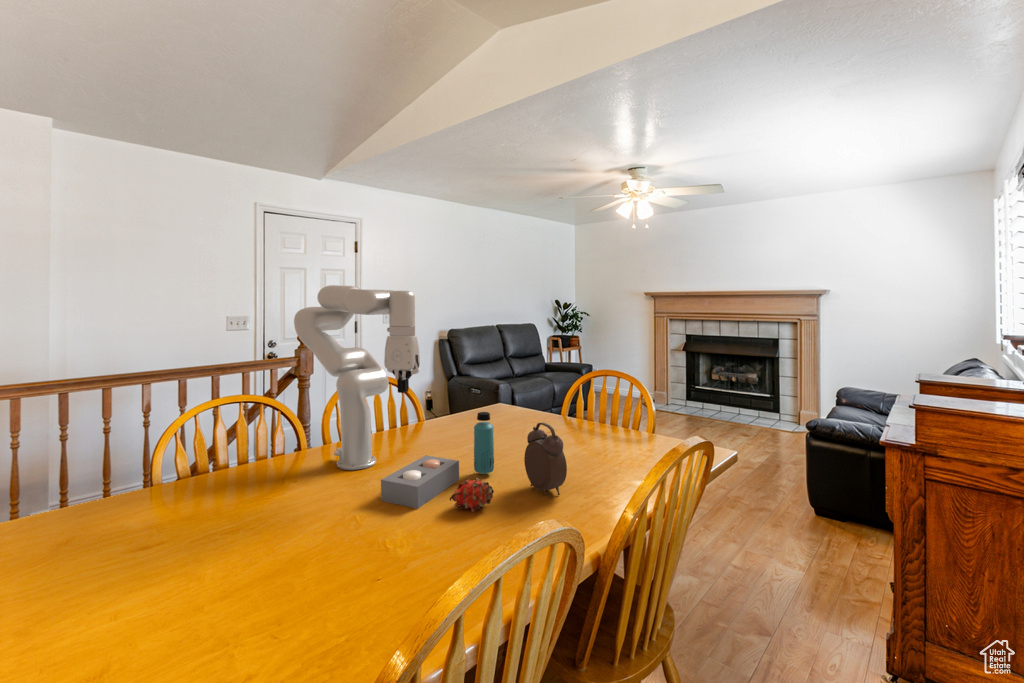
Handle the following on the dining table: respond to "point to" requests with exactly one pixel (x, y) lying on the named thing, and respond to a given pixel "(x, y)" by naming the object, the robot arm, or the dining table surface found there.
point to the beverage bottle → (483, 444)
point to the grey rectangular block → (419, 482)
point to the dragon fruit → (472, 494)
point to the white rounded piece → (412, 475)
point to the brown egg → (431, 463)
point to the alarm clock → (545, 460)
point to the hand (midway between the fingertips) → (403, 391)
